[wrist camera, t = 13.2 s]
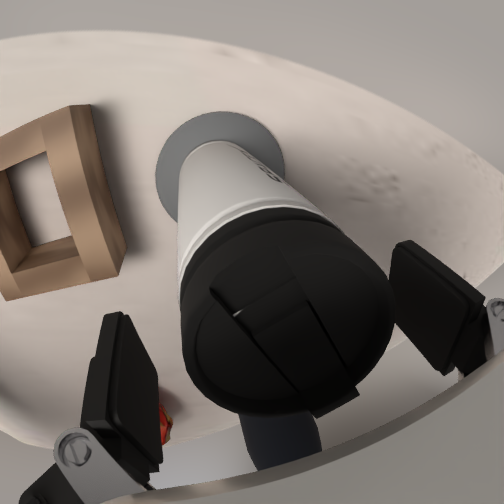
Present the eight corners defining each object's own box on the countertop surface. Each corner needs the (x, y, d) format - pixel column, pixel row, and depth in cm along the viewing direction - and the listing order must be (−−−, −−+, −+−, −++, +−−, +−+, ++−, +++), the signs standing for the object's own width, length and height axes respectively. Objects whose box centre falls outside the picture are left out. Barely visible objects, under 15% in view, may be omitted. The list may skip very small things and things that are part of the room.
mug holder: (127, 247, 26) (118, 276, 22) (24, 273, 25) (6, 301, 20) (89, 104, 20) (68, 105, 15) (-18, 153, 18) (-48, 165, 14)
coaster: (287, 220, 29) (289, 223, 28) (171, 245, 27) (171, 247, 27) (275, 103, 23) (277, 103, 23) (144, 126, 22) (143, 127, 21)
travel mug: (207, 227, 26) (262, 447, 9) (164, 166, 23) (125, 357, 6) (268, 190, 26) (416, 361, 9) (230, 125, 23) (383, 203, 5)
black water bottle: (217, 321, 32) (297, 610, 7) (274, 309, 33) (394, 575, 8) (226, 359, 36) (294, 598, 10) (276, 347, 37) (370, 573, 11)
